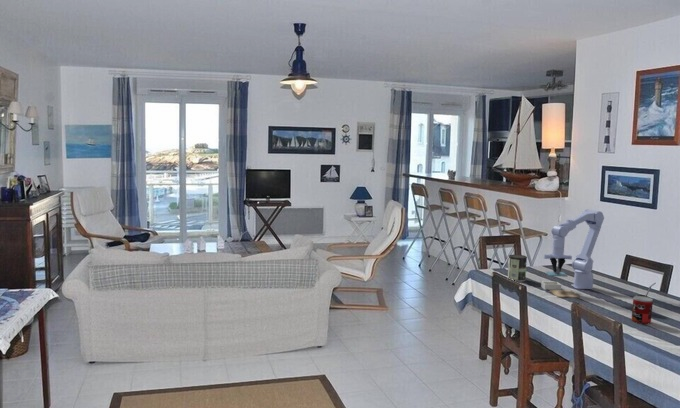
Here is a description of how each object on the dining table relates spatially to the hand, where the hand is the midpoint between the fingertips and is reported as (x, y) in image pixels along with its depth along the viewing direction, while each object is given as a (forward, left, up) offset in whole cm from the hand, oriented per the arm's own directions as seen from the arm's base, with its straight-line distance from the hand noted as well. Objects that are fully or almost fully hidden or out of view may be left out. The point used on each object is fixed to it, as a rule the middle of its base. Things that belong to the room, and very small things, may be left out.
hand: (556, 271), depth 310 cm
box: (+1, -4, -10) cm, 11 cm away
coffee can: (+15, -22, -11) cm, 29 cm away
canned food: (-21, +51, -11) cm, 56 cm away
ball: (+3, -4, -9) cm, 10 cm away
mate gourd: (-29, +36, -11) cm, 47 cm away
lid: (0, 0, -2) cm, 2 cm away
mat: (-2, +8, -10) cm, 13 cm away
